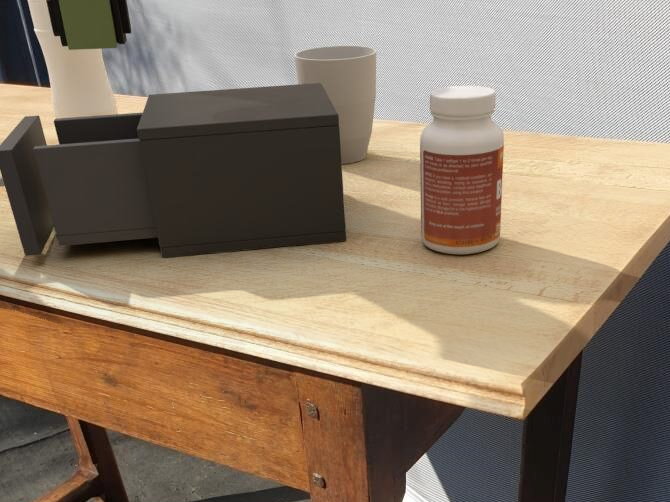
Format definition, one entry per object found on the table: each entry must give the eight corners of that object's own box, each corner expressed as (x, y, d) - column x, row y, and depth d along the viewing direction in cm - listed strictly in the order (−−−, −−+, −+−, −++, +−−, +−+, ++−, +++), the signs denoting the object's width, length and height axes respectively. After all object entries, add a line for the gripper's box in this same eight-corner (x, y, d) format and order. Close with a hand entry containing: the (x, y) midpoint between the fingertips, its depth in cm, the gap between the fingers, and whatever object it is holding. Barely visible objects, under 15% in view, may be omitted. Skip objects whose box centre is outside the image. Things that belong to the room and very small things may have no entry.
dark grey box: (161, 258, 65) (136, 128, 60) (169, 208, 75) (148, 94, 70) (346, 241, 67) (338, 114, 61) (329, 195, 77) (321, 82, 71)
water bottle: (50, 136, 100) (-14, -118, 86) (105, 125, 104) (52, -120, 90) (76, 145, 96) (13, -121, 81) (132, 133, 99) (82, -123, 85)
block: (68, 49, 81) (57, -5, 78) (74, 43, 85) (64, -9, 82) (117, 48, 82) (107, -6, 79) (121, 42, 85) (112, -10, 83)
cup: (394, 152, 88) (392, 48, 83) (350, 172, 83) (344, 61, 77) (333, 144, 92) (326, 44, 86) (287, 162, 87) (277, 56, 81)
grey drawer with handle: (-49, 262, 63) (-85, 157, 59) (-15, 215, 72) (-44, 121, 68) (202, 240, 65) (185, 136, 61) (204, 197, 75) (189, 104, 70)
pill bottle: (512, 251, 64) (520, 95, 57) (436, 261, 62) (436, 103, 56) (482, 225, 69) (487, 79, 62) (411, 235, 67) (408, 87, 61)
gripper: (152, -185, 77) (182, 35, 87) (-40, -184, 75) (13, 42, 85) (147, -193, 71) (180, 45, 81) (-63, -193, 69) (-2, 52, 79)
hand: (94, 41), depth 83 cm, fingers closed on block, 4 cm apart
